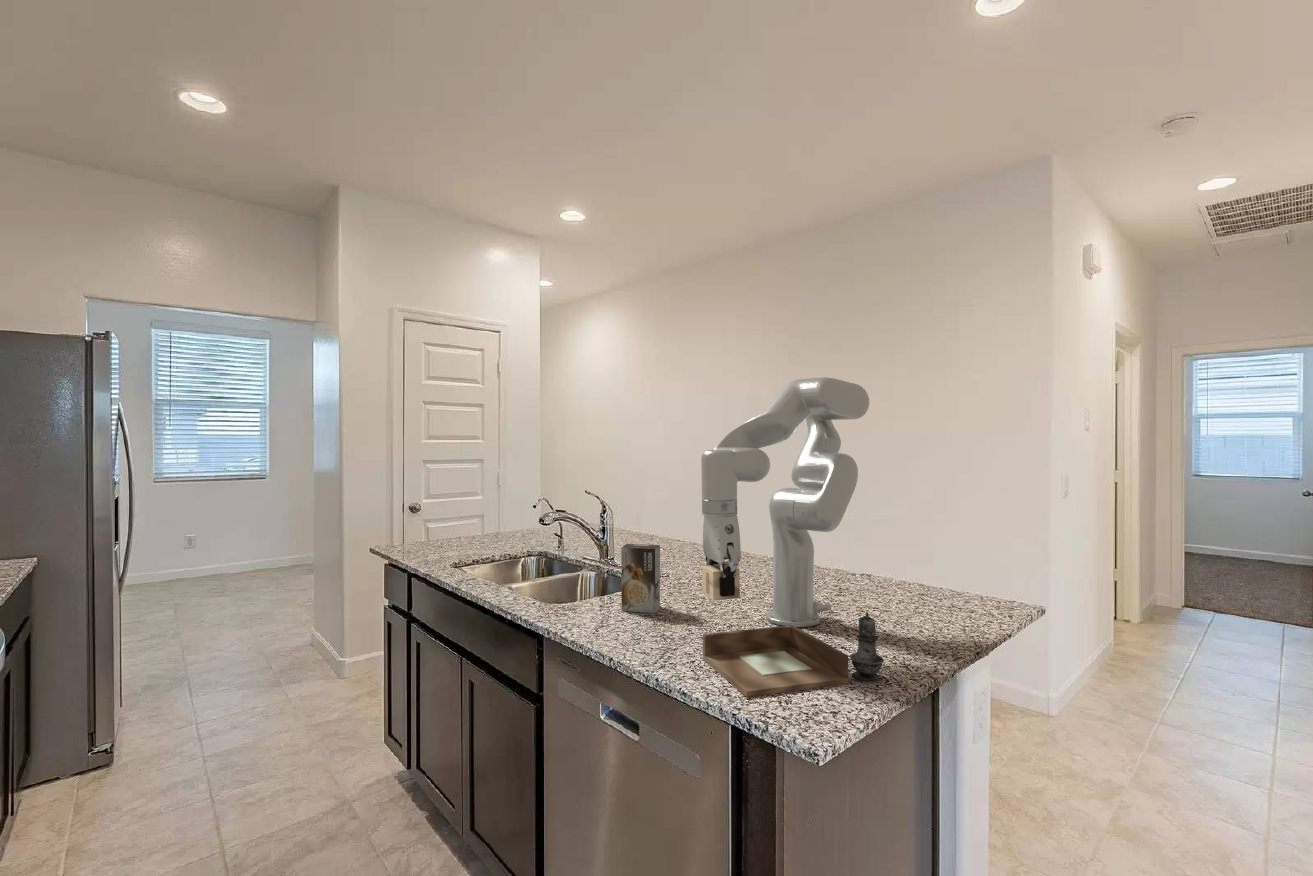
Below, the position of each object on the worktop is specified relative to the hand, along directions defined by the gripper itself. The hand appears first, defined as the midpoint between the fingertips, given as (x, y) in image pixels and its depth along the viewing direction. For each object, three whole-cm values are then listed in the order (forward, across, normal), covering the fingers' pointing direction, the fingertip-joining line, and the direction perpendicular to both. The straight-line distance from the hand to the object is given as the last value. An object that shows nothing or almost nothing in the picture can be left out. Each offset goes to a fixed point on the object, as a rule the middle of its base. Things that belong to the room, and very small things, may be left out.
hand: (720, 591), depth 134 cm
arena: (+11, -18, -2) cm, 21 cm away
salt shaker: (+11, -26, -17) cm, 33 cm away
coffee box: (+11, +30, +9) cm, 33 cm away
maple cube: (+1, 0, 0) cm, 1 cm away
